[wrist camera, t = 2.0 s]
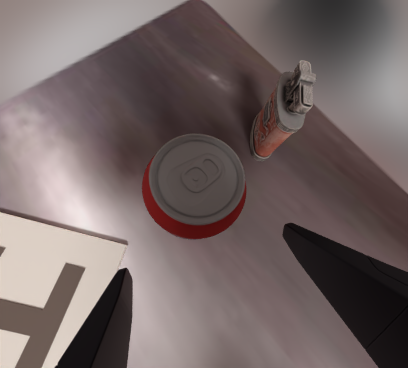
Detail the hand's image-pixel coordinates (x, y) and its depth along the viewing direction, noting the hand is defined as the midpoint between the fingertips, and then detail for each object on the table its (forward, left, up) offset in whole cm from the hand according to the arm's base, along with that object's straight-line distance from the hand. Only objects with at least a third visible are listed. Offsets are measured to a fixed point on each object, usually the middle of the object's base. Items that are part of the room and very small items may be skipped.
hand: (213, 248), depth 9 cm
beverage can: (+4, +2, -11) cm, 12 cm away
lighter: (+17, -6, -11) cm, 21 cm away
